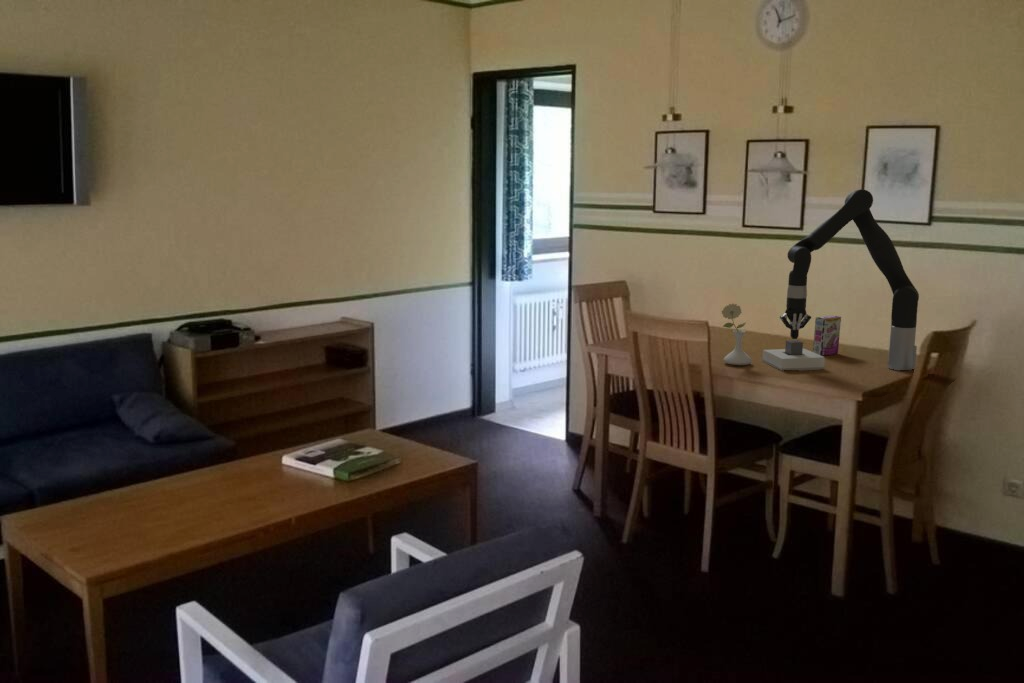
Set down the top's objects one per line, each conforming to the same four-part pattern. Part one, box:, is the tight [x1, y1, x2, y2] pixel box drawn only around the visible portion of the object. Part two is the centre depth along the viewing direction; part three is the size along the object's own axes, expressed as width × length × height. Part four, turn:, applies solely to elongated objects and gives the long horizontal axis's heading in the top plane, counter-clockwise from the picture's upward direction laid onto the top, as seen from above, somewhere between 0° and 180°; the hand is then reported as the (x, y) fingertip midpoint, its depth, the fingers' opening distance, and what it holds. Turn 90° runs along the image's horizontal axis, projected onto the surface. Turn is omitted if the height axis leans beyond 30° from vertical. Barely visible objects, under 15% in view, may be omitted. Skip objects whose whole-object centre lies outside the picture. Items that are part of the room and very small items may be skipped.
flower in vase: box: [721, 303, 753, 366], centre depth 381 cm, size 13×11×25 cm
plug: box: [784, 339, 804, 355], centre depth 380 cm, size 5×5×9 cm
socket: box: [762, 348, 826, 372], centre depth 380 cm, size 18×18×5 cm
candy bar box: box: [812, 314, 842, 357], centre depth 401 cm, size 11×5×16 cm, turn 123°
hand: (794, 338), depth 379 cm, fingers closed
